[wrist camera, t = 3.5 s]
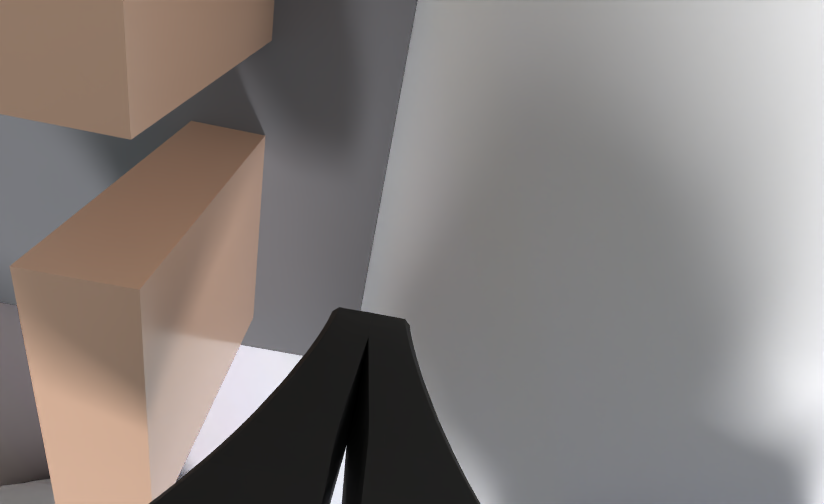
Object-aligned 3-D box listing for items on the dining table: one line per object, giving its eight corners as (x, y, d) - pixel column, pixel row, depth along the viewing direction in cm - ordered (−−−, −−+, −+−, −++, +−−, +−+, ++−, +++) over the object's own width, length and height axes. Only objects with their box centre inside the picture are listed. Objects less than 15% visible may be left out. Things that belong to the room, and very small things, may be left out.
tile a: (265, 135, 12) (139, 289, 7) (253, 317, 15) (153, 529, 10) (184, 119, 12) (-4, 263, 7) (185, 304, 15) (47, 513, 10)
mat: (477, -325, 9) (478, -335, 9) (352, 354, 16) (350, 364, 16) (-490, -571, 8) (-533, -594, 8) (-173, 261, 15) (-187, 269, 15)
